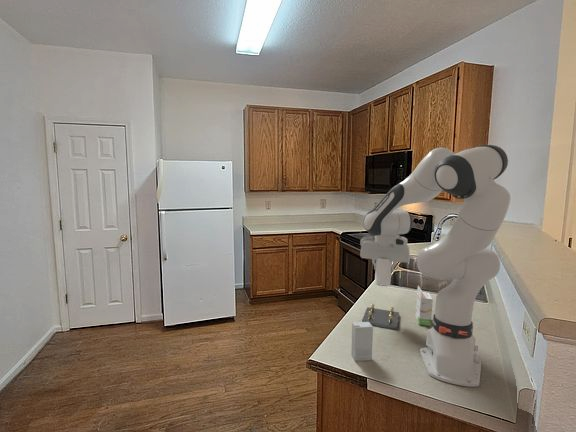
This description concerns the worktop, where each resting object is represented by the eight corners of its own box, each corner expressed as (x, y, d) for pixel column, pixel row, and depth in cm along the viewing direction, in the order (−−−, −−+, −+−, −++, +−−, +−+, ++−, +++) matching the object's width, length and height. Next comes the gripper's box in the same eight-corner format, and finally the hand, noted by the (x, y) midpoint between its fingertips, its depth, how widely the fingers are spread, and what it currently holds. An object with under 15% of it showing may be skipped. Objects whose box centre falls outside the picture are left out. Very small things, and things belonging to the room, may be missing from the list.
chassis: (396, 329, 131) (397, 319, 130) (361, 323, 136) (362, 313, 135) (398, 315, 144) (399, 305, 144) (367, 310, 150) (367, 300, 149)
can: (392, 286, 135) (394, 259, 134) (376, 286, 135) (378, 258, 134) (387, 281, 142) (389, 255, 140) (373, 281, 142) (374, 254, 140)
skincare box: (367, 354, 112) (369, 320, 110) (372, 361, 107) (374, 326, 106) (350, 354, 111) (351, 321, 110) (354, 362, 107) (355, 327, 105)
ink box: (431, 326, 134) (434, 292, 132) (418, 325, 135) (421, 291, 133) (426, 317, 143) (429, 285, 141) (415, 316, 144) (417, 284, 142)
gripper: (359, 237, 137) (357, 269, 138) (410, 241, 129) (408, 275, 131) (361, 235, 143) (360, 265, 144) (411, 239, 135) (408, 271, 137)
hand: (383, 270), depth 138 cm, fingers closed on can, 5 cm apart
